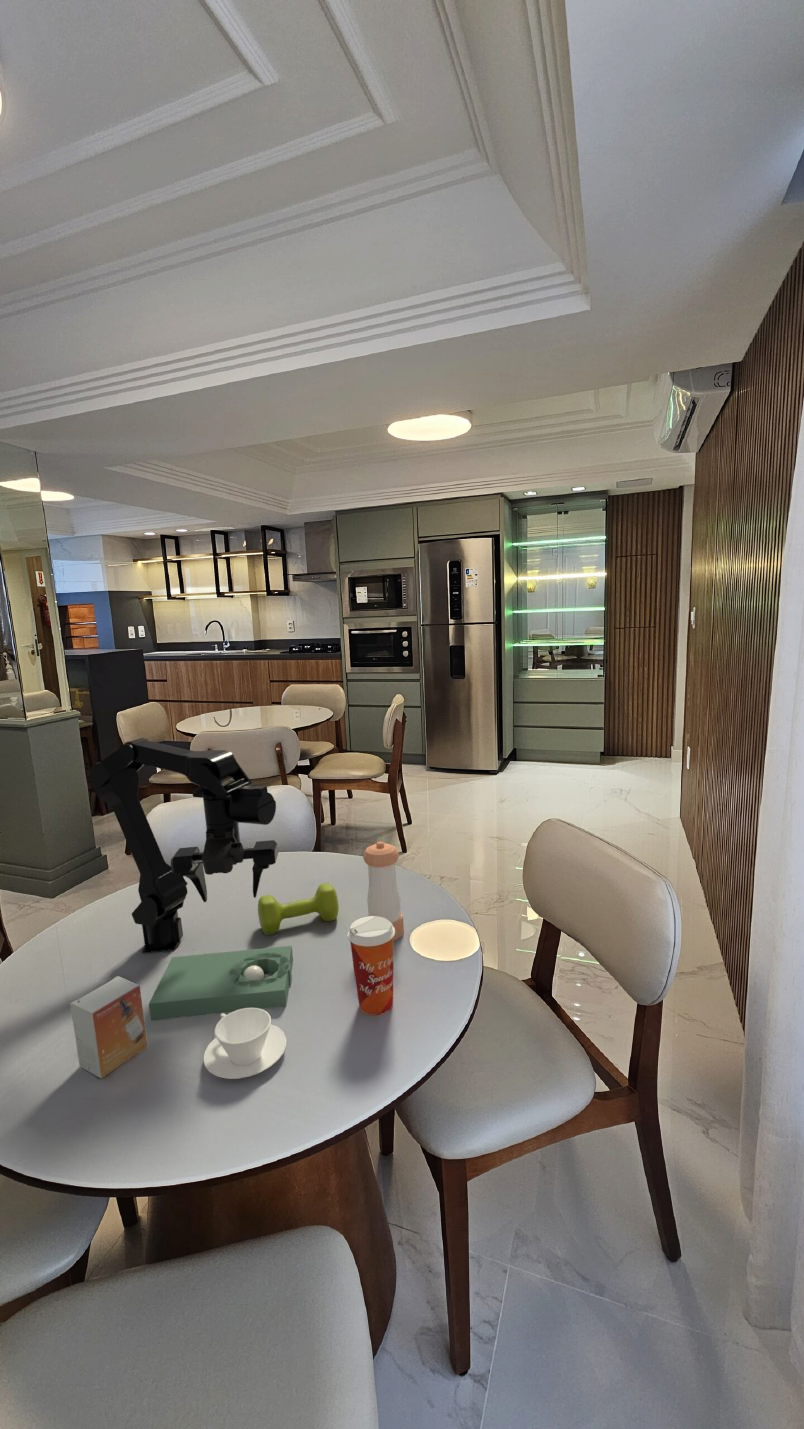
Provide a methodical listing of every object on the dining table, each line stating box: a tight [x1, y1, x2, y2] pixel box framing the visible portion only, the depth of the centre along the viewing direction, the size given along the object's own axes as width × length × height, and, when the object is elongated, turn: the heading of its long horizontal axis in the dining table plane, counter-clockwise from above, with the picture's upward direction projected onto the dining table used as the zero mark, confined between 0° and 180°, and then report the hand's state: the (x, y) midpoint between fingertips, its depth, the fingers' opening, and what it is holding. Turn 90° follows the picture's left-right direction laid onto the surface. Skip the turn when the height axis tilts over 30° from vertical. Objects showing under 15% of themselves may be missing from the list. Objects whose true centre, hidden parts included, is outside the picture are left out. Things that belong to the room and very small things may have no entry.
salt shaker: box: [362, 841, 405, 941], centre depth 125 cm, size 7×7×19 cm
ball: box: [243, 965, 265, 980], centre depth 111 cm, size 4×4×4 cm
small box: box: [69, 975, 148, 1079], centre depth 94 cm, size 8×6×10 cm
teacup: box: [203, 1008, 287, 1080], centre depth 93 cm, size 12×12×5 cm
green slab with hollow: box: [148, 945, 294, 1021], centre depth 111 cm, size 22×14×3 cm, turn 95°
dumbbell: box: [257, 882, 339, 936], centre depth 132 cm, size 16×8×7 cm, turn 110°
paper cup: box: [347, 916, 395, 1016], centre depth 103 cm, size 8×8×14 cm
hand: (230, 899), depth 119 cm, fingers open, 9 cm apart
